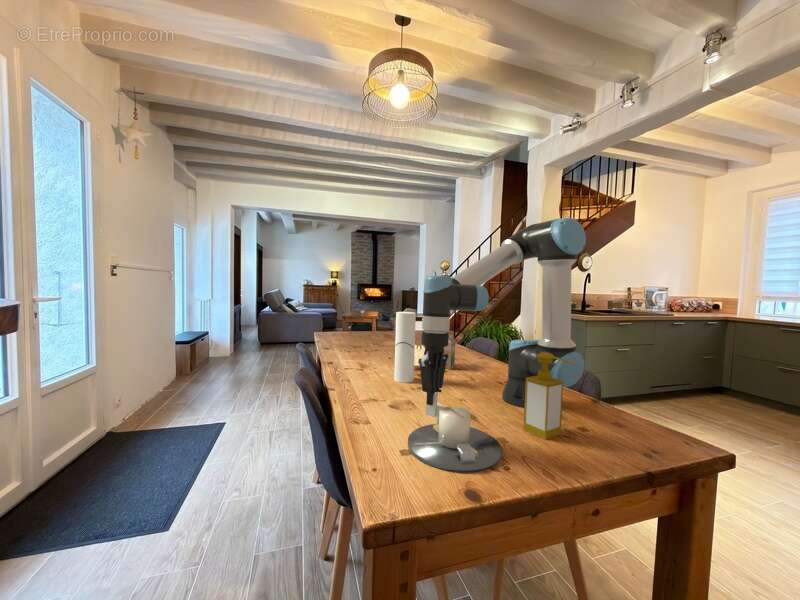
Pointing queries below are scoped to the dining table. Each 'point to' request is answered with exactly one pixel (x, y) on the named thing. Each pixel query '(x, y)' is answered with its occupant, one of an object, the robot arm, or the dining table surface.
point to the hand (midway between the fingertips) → (431, 415)
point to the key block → (453, 426)
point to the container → (404, 347)
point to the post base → (455, 450)
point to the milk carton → (450, 353)
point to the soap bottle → (543, 401)
